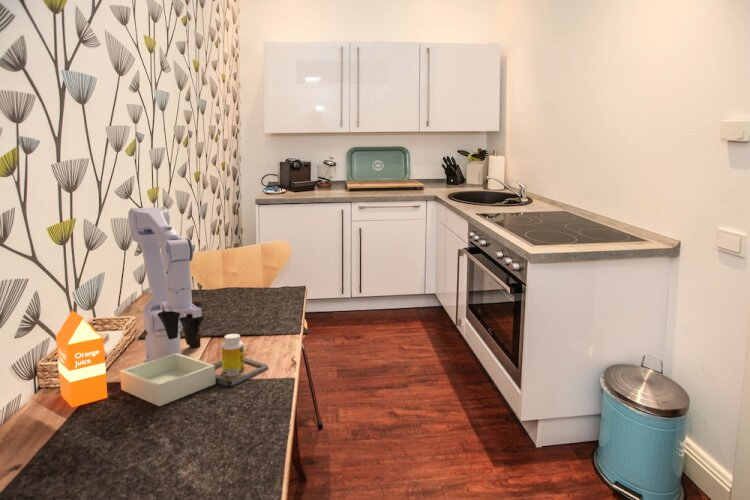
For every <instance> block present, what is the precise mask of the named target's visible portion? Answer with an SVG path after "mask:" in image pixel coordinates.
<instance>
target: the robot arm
mask: <svg viewBox="0 0 750 500" xmlns="http://www.w3.org/2000/svg"><path fill="white" fill-rule="evenodd" d="M127 217H128V218H127V219H128V227H129V231H130V236H131V239H132V241H134V242H135V243H138V245H139V247H140V250H141V253H142V258H143V263H144V268H145V272H146V277H147V282H148V287H149V292H150V297H151V299H150V300H148V301H147V302H146V303H145V304H144V305H143V310H142V314H143V325H144V329H145V331H146V335H145V339H144V348H145V349H144V350H145V360H143V361H142V364H143V363H146V362H149V361H152V360H156V359H159V358H162V357H165V356H168V355H171V354H174V353H179V354H182V349H181V348H182V346H181V333H180V332H182V330H183V333H184V338H185V343H186V346H189V345H191V344H194V343H195V342H196V338H197V333H198V329H199V327H200V328H201V324H202V322H203V320H204V319H205V317H204V314H203V315H202V308H201V307H199V308H198V307H196V306H195V305H193V304H192V298H193V297H192V284H191V283H192V280H191V279H192V277H191V275H192V274H191V262H192V261H193V257H194V248H193V243H192V241H191V240H190V238H189V237H185V238H183V237H182V235H180V233H179V232H178V231H177V229H176V227H174V226H172V225H171V224H170V222H171V219H170V218H171V217H170V212H169V210H168V208H167V207H166V206H162V207H141V208H140V207H139V208H138V207H131V208H130V209H129V210H128V214H127Z"/></svg>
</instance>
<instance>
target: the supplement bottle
mask: <svg viewBox="0 0 750 500" xmlns="http://www.w3.org/2000/svg"><path fill="white" fill-rule="evenodd" d="M223 338H224V342H223V343H222V344H221V346H220V347H221V361H222V366H221V369H222V375H223V376H227V377H234V376H235V377H236V376H240V375H242V373H243V374H244V372H245V363H244V358H245V357H244V356H245V355H244V354H245V353H244V351H245V350H244V343H243V341H241V335H240V334H239V333H229V334H226V335H224V337H223Z"/></svg>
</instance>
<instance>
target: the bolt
mask: <svg viewBox="0 0 750 500" xmlns="http://www.w3.org/2000/svg"><path fill="white" fill-rule="evenodd" d="M192 304H193V305H195V306H196V307H198V308H200V307H202V306H203V304H204V300H203V299H202V298H200V297H192ZM203 335H204V331H203V330H202V329H201V326H200V327H199V329H198V333H197V338H196V342H195V343H194V344H191V345H188V346H189V349H199V348H201V343H202V342H201V339H202V338H203Z"/></svg>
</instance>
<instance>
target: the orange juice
mask: <svg viewBox="0 0 750 500" xmlns="http://www.w3.org/2000/svg"><path fill="white" fill-rule="evenodd" d="M55 340H56V352H57V354H56V355H57V365H58V367H57V368H58V374H59V375H58V376H59V386H60V396H61V398H63V400H65V401H66V403H68V405H69V406H70V407H71V408H76V407H79V406H82V405H86V404H89V403H90V404H91V403H93V402H98V401H100V400H104V399H107V398H108V387H107V375H106V374H107V369H106V360H105V358H106V357H105V346H104V345H105V344H104V337H103V336H101V335H100V334H99V332H98V331H96V330H95V329H94V327H92V326H91V325H90V324H89V323H88V322H87V320H85V319H84V316H81V315H80V314H78V313H77V312H75V311H74V310H71V312H70V313H69V314H68V317H67V318H66V319H65V321H64V322H63V324H62V326H61V328H59V330H58V332H57V334H56V335H55Z"/></svg>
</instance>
